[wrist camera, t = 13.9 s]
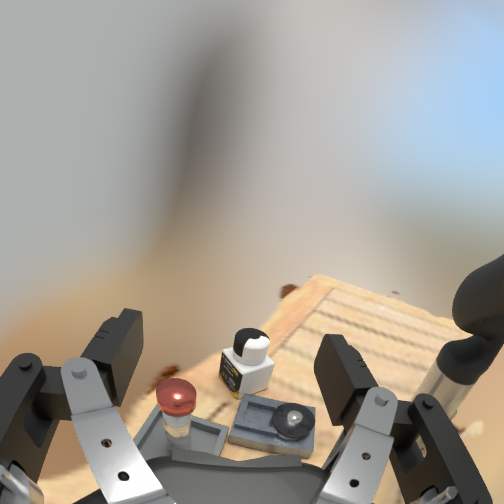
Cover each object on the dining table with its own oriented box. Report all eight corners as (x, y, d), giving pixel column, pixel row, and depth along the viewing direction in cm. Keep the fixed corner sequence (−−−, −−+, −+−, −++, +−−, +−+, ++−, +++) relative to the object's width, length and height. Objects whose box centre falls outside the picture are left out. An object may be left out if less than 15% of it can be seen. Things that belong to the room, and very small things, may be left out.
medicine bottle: (217, 375, 50) (225, 327, 46) (247, 367, 54) (258, 320, 51) (236, 400, 45) (247, 351, 41) (267, 388, 49) (282, 341, 45)
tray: (227, 434, 37) (229, 426, 36) (205, 493, 25) (206, 488, 25) (158, 411, 38) (157, 402, 37) (126, 461, 27) (123, 454, 26)
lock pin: (198, 442, 33) (201, 385, 29) (188, 465, 29) (187, 412, 25) (170, 433, 34) (166, 373, 30) (158, 454, 30) (149, 397, 25)
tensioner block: (311, 415, 43) (319, 399, 41) (308, 458, 33) (318, 443, 32) (242, 401, 45) (246, 383, 43) (228, 442, 35) (231, 426, 34)
